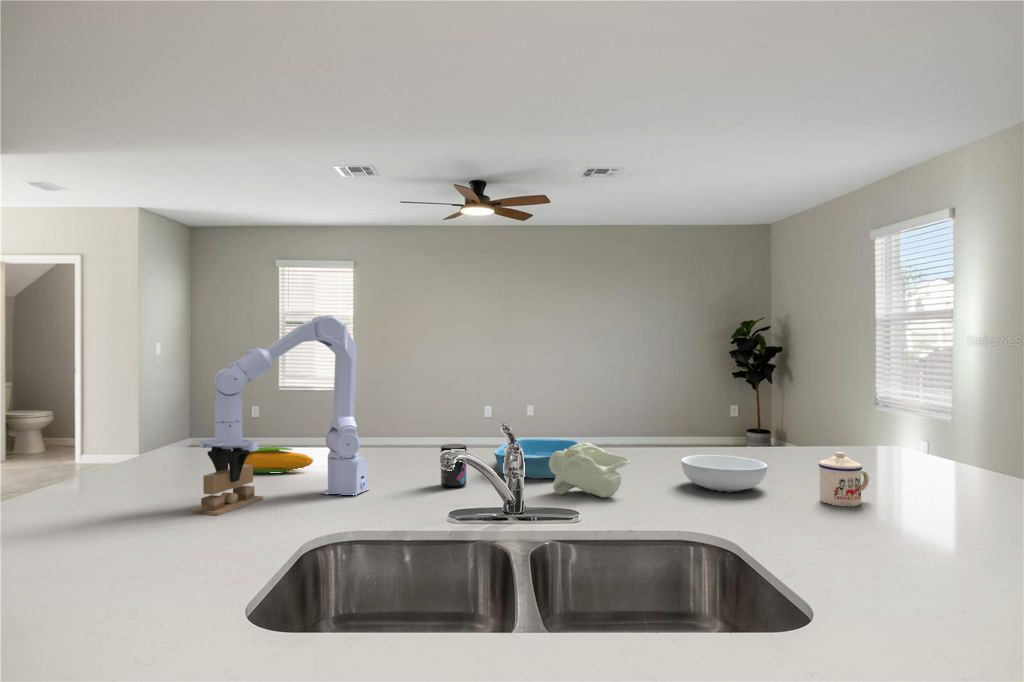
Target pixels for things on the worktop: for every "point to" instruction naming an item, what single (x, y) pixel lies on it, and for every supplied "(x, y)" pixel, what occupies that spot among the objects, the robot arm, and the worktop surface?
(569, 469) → the folded clay sculpture
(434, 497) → the worktop surface
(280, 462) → the corn
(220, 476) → the long wooden plank
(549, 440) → the casserole dish
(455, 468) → the supplement container
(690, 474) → the serving bowl
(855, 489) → the teacup with lid
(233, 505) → the display stand
